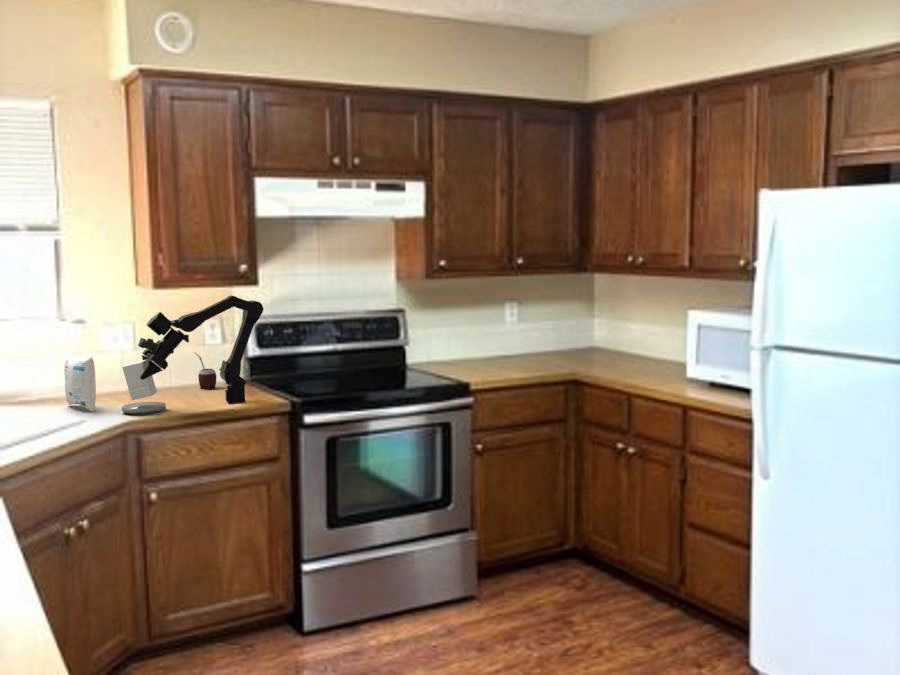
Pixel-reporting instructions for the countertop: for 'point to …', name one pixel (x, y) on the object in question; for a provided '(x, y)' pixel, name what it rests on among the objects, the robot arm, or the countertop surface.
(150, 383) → the supplement box
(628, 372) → the countertop surface
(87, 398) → the pouch
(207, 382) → the mate gourd
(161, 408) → the dish
